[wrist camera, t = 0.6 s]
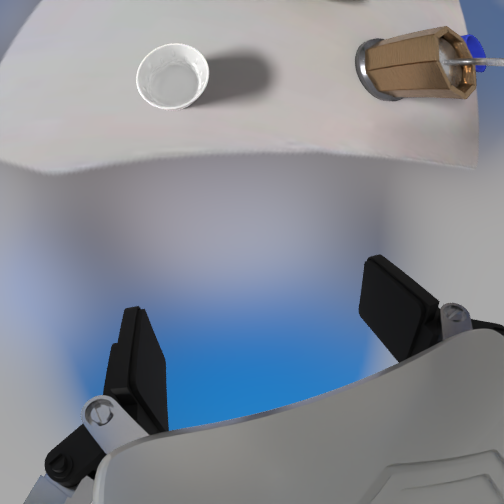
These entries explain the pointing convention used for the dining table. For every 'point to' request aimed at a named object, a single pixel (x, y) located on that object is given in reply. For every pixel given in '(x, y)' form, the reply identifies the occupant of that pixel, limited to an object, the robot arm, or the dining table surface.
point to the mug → (475, 50)
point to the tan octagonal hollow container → (413, 66)
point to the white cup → (172, 76)
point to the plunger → (460, 62)
